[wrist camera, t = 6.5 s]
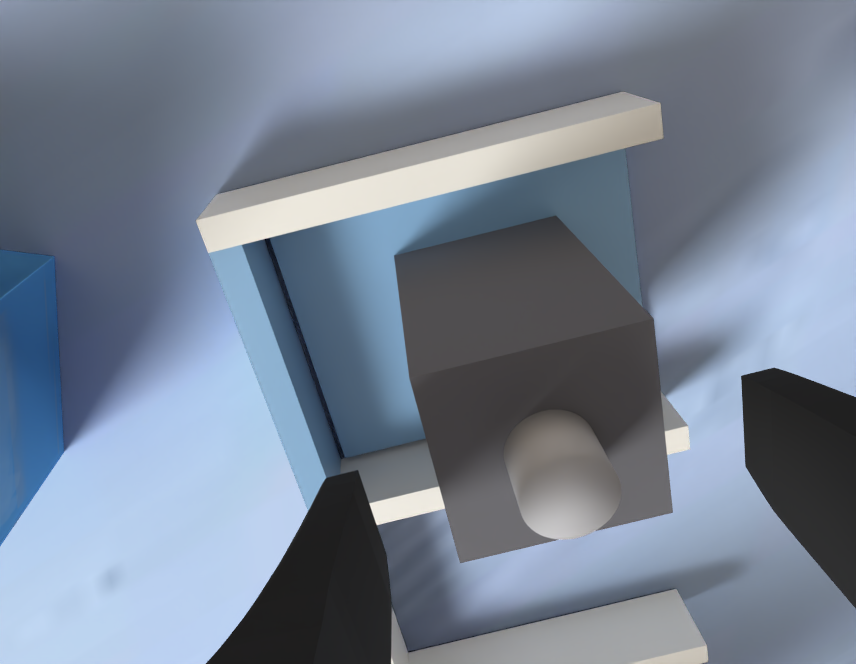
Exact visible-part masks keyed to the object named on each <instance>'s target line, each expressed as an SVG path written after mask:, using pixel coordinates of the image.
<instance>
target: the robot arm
mask: <svg viewBox="0 0 856 664" xmlns="http://www.w3.org/2000/svg"><path fill="white" fill-rule="evenodd" d="M741 380H742V401H743V422H744V443H745V464H746V468H747V469H748V471H749V473H750V474H751V476H752V478H753V479H754V481H755V482H756V484H757V486H758V487H759V489H760V491H761V492H762V494H763V495H764V497H765V498H766V500H767V501H768V503H769V504H770V506H771V507H772V509H773V510H774V512H775V513H776V514H777V516H778V517H779V518H780V519H781V521H782V522H783V523H784V524H785V525H786V527H787V528H788V529H789V530H790V531H791V533H792V534H793V535H794V536H795V537H796V539H797V540H798V541H799V542H800V543H801V545H802V546H803V547H804V548H805V549H806V550H807V552H808V553H809V554H810V555H811V556H812V557H813V559H814V560H815V561H816V562H817V563H818V565H819V566H820V567H821V568H822V569H823V570H824V572H825V573H826V574H827V575H828V576H829V577H830V579H831V580H832V581H833V582H834V583H835V585H836V586H837V587H838V588H839V589H840V590H841V592H842V593H843V594H844V595H845V596H846V597H847V599H848V600H849V601H850V602H851V603H852V605H853V606H854V607H855V608H856V397H854V396H851V395H848V394H846V393H843V392H840V391H838V390H835V389H833V388H830V387H827V386H825V385H822V384H819V383H817V382H814V381H811V380H809V379H806V378H803V377H801V376H798V375H795V374H792V373H789V372H786V371H783V370H780V369H777V368H771V369H767V370H763V371H759V372H755V373H751V374H747V375H743V376H741ZM391 635H392V602H391V592H390V582H389V574H388V565H387V556H386V552H385V549H384V546H383V543H382V540H381V537H380V534H379V531H378V528H377V525H376V522H375V519H374V516H373V513H372V510H371V507H370V504H369V501H368V498H367V495H366V492H365V489H364V486H363V483H362V480H361V477H360V474H359V471H358V470H356V471H351V472H347V473H343V474H339V475H335V476H331V477H327V478H326V479H325V480H324V482H323V483H322V485H321V487H320V489H319V491H318V493H317V495H316V497H315V499H314V501H313V503H312V505H311V507H310V509H309V511H308V513H307V515H306V516H305V518H304V520H303V522H302V524H301V526H300V528H299V530H298V532H297V533H296V535H295V537H294V539H293V540H292V542H291V544H290V546H289V548H288V549H287V551H286V553H285V555H284V556H283V558H282V560H281V562H280V563H279V565H278V567H277V568H276V570H275V571H274V573H273V574H272V576H271V578H270V579H269V581H268V582H267V584H266V585H265V587H264V589H263V590H262V592H261V593H260V595H259V596H258V598H257V599H256V601H255V602H254V604H253V605H252V607H251V608H250V610H249V611H248V612H247V614H246V615H245V617H244V618H243V619H242V621H241V622H240V623H239V625H238V626H237V627H236V628H235V630H234V631H233V632H232V634H231V635H230V636H229V637H228V639H227V640H226V641H225V642H224V644H223V645H222V646H221V647H220V648H219V650H218V651H217V652H216V653H215V654H214V655H213V656H212V657H211V659H210V660H209V661H208V662H207V663H206V664H391Z"/></svg>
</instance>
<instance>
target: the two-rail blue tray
mask: <svg viewBox="0 0 856 664" xmlns="http://www.w3.org/2000/svg"><path fill="white" fill-rule="evenodd" d="M660 139H664V138H663V127H662V115H661V103H659V102H656V101H652V100H649V99H646V98H643V97H639V96H636V95H633V94H630V93H627V92H619V93H615V94H611V95H607V96H603V97H599V98H595V99H591V100H587V101H583V102H579V103H575V104H571V105H568V106H564V107H560V108H556V109H552V110H548V111H544V112H540V113H536V114H532V115H528V116H524V117H520V118H516V119H512V120H508V121H504V122H500V123H496V124H493V125H489V126H485V127H481V128H477V129H473V130H469V131H465V132H461V133H457V134H453V135H449V136H445V137H441V138H437V139H433V140H429V141H425V142H422V143H418V144H414V145H410V146H406V147H402V148H398V149H394V150H390V151H386V152H382V153H378V154H374V155H370V156H366V157H362V158H358V159H354V160H351V161H347V162H343V163H339V164H335V165H331V166H327V167H323V168H319V169H315V170H311V171H307V172H303V173H299V174H295V175H291V176H287V177H283V178H279V179H276V180H272V181H268V182H264V183H260V184H256V185H252V186H248V187H244V188H240V189H236V190H232V191H228V192H224V193H220V194H216V196H215V197H214V198H213V199H212V201H211V202H210V203H209V204H208V206H207V207H206V208H205V209H204V211H203V212H202V213H201V214H200V216H199V217H198V218H197V219H196V223H197V225H198V228H199V230H200V233H201V236H202V238H203V241H204V243H205V246H206V248H207V251H208V254H209V256H210V259H211V261H212V264H213V267H214V269H215V272H216V274H217V277H218V279H219V282H220V285H221V287H222V290H223V292H224V295H225V298H226V300H227V303H228V305H229V308H230V310H231V313H232V316H233V318H234V321H235V323H236V326H237V329H238V331H239V334H240V336H241V339H242V341H243V344H244V347H245V349H246V352H247V354H248V357H249V360H250V362H251V365H252V367H253V370H254V372H255V375H256V378H257V380H258V383H259V385H260V388H261V391H262V393H263V396H264V398H265V401H266V403H267V406H268V409H269V411H270V414H271V416H272V419H273V422H274V424H275V427H276V429H277V432H278V434H279V437H280V440H281V442H282V445H283V447H284V450H285V453H286V455H287V458H288V460H289V463H290V465H291V468H292V471H293V473H294V476H295V478H296V481H297V484H298V486H299V489H300V491H301V494H302V496H303V499H304V502H305V504H306V507H307V509H308V511H309V509H310V507H311V505H312V503H313V501H314V499H315V497H316V495H317V493H318V491H319V489H320V487H321V485H322V483H323V482H324V480H325V479H326V478H327V477H331V476H335V475H339V474H343V473H347V472H351V471H356V470H358V471H359V474H360V477H361V480H362V483H363V486H364V489H365V492H366V495H367V498H368V501H369V504H370V507H371V510H372V513H373V516H374V519H375V522H376V525H380V524H384V523H388V522H392V521H396V520H400V519H404V518H408V517H413V516H417V515H421V514H425V513H429V512H433V511H437V510H441V509H445V506H444V502H443V499H442V495H441V491H440V488H439V484H438V481H437V477H436V473H435V470H434V466H433V462H432V459H431V455H430V452H429V448H428V444H427V441H426V439H425V438H426V437H425V433H424V430H423V426H422V422H421V419H420V415H419V412H418V408H417V404H416V401H415V397H414V393H413V390H412V386H411V383H410V379H409V372H408V364H407V356H406V348H405V340H404V332H403V324H402V316H401V308H400V300H399V292H398V284H397V276H396V268H395V260H394V255H398V254H402V253H406V252H410V251H414V250H418V249H422V248H426V247H431V246H435V245H439V244H443V243H447V242H451V241H455V240H459V239H463V238H467V237H471V236H475V235H479V234H483V233H487V232H491V231H495V230H499V229H503V228H507V227H511V226H515V225H520V224H524V223H528V222H532V221H536V220H540V219H544V218H548V217H552V216H557V217H558V218H559V219H560V220H561V221H562V222H563V223H564V224H565V225H566V226H567V227H568V229H569V230H570V231H571V232H572V233H573V234H574V235H575V236H576V237H577V238H578V239H579V240H580V241H581V242H582V243H583V244H584V246H585V247H586V248H587V249H588V250H589V251H590V252H591V253H592V254H593V255H594V256H595V257H596V258H597V259H598V260H599V261H600V262H601V264H602V265H603V266H604V267H605V268H606V269H607V270H608V271H609V272H610V273H611V274H612V275H613V276H614V277H615V278H616V279H617V280H618V282H619V283H620V284H621V285H622V286H623V287H624V288H625V289H626V290H627V291H628V292H629V293H630V294H631V295H632V296H633V297H634V299H635V300H636V301H637V302H638V303H639V304H640V305H641V306H642V298H641V288H640V279H639V270H638V261H637V252H636V243H635V233H634V224H633V215H632V206H631V197H630V188H629V179H628V169H627V160H626V151H625V148H628V147H632V146H636V145H640V144H644V143H648V142H652V141H656V140H660ZM266 238H270V241H271V244H272V247H273V250H274V253H275V256H276V259H277V262H278V264H279V267H280V270H281V273H282V276H283V279H284V282H285V285H286V288H287V291H288V293H289V296H290V299H291V302H292V305H293V308H294V311H295V314H296V317H297V320H298V323H299V325H300V328H301V331H302V334H303V337H304V340H305V343H306V346H307V349H308V352H309V355H310V357H311V360H312V363H313V366H314V369H315V372H316V375H317V378H318V381H319V384H320V386H321V389H322V392H323V395H324V398H325V401H326V404H327V407H328V410H329V413H330V416H331V418H332V421H333V424H334V427H335V430H336V433H337V436H338V439H339V442H340V445H341V448H342V450H343V453H344V456H345V458H344V459H341V458H340V455H339V452H338V449H337V446H336V444H335V441H334V438H333V435H332V432H331V429H330V426H329V423H328V421H327V418H326V415H325V412H324V409H323V406H322V403H321V400H320V398H319V395H318V392H317V389H316V386H315V383H314V380H313V377H312V375H311V372H310V369H309V366H308V363H307V360H306V357H305V354H304V352H303V349H302V346H301V343H300V340H299V337H298V334H297V331H296V329H295V326H294V323H293V320H292V317H291V314H290V311H289V308H288V305H287V303H286V300H285V297H284V294H283V291H282V288H281V285H280V282H279V280H278V277H277V274H276V271H275V268H274V265H273V262H272V259H271V257H270V254H269V251H268V248H267V245H266V242H265V239H266ZM661 399H662V409H663V419H664V429H665V439H666V449H667V455H668V454H672V453H677V452H681V451H685V450H689V449H690V442H689V431H688V425H687V424H686V423H685V421H684V420H683V419H682V417H681V416H680V415H679V414H678V412H677V411H676V410H675V409H674V407H673V406H672V405H671V403H670V402H669V401H668V400H667V398H666V397H665V396H664V394H663V393H662V392H661ZM421 439H422V440H421ZM388 447H389V448H388ZM384 448H385V449H384ZM380 449H381V450H380ZM376 450H377V451H376ZM705 662H708V653H707V645H706V643H705V641H704V639H703V637H702V635H701V634H700V632H699V630H698V628H697V626H696V624H695V622H694V621H693V619H692V617H691V615H690V613H689V611H688V610H687V608H686V606H685V604H684V602H683V600H682V598H681V597H680V595H679V593H678V591H677V589H673V590H669V591H665V592H661V593H656V594H652V595H648V596H644V597H640V598H635V599H631V600H627V601H623V602H619V603H614V604H610V605H606V606H602V607H598V608H593V609H589V610H585V611H581V612H577V613H572V614H568V615H564V616H560V617H556V618H551V619H547V620H543V621H539V622H535V623H530V624H526V625H522V626H518V627H514V628H509V629H505V630H501V631H497V632H493V633H489V634H484V635H480V636H476V637H472V638H468V639H463V640H459V641H455V642H451V643H447V644H442V645H438V646H434V647H430V648H426V649H421V650H417V651H413V652H409V653H408V651H407V648H406V645H405V642H404V639H403V636H402V634H401V631H400V628H399V625H398V622H397V619H396V616H395V613H394V610H393V608H392V635H391V664H701V663H705Z"/></svg>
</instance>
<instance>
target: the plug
mask: <svg viewBox="0 0 856 664" xmlns="http://www.w3.org/2000/svg"><path fill="white" fill-rule="evenodd" d="M394 260H395V268H396V276H397V284H398V292H399V300H400V308H401V316H402V324H403V332H404V340H405V348H406V356H407V364H408V372H409V379H410V383H411V386H412V390H413V393H414V397H415V401H416V404H417V408H418V412H419V415H420V419H421V422H422V426H423V430H424V433H425V437H426V441H427V444H428V448H429V452H430V455H431V459H432V462H433V466H434V470H435V473H436V477H437V481H438V484H439V488H440V491H441V495H442V499H443V502H444V506H445V510H446V513H447V517H448V520H449V524H450V528H451V531H452V535H453V539H454V542H455V546H456V549H457V553H458V557H459V560H460V563H463V562H467V561H471V560H475V559H480V558H484V557H488V556H492V555H496V554H501V553H505V552H509V551H513V550H517V549H522V548H526V547H530V546H534V545H538V544H543V543H547V542H551V541H555V540H559V539H560V540H566V539H574V538H579V537H582V536H585V535H588V534H590V533H592V532H594V531H597V530H601V529H606V528H610V527H614V526H618V525H622V524H627V523H631V522H635V521H639V520H643V519H648V518H652V517H656V516H660V515H664V514H669V513H673V510H672V500H671V490H670V480H669V470H668V459H667V449H666V439H665V429H664V419H663V409H662V399H661V389H660V379H659V369H658V359H657V349H656V339H655V328H654V319H653V318H652V317H651V315H650V314H649V313H648V312H647V311H646V310H645V309H644V308H643V307H642V306H641V305H640V304H639V303H638V302H637V301H636V300H635V299H634V297H633V296H632V295H631V294H630V293H629V292H628V291H627V290H626V289H625V288H624V287H623V286H622V285H621V284H620V283H619V282H618V280H617V279H616V278H615V277H614V276H613V275H612V274H611V273H610V272H609V271H608V270H607V269H606V268H605V267H604V266H603V265H602V264H601V262H600V261H599V260H598V259H597V258H596V257H595V256H594V255H593V254H592V253H591V252H590V251H589V250H588V249H587V248H586V247H585V246H584V244H583V243H582V242H581V241H580V240H579V239H578V238H577V237H576V236H575V235H574V234H573V233H572V232H571V231H570V230H569V229H568V227H567V226H566V225H565V224H564V223H563V222H562V221H561V220H560V219H559V218H558V217H557V216H552V217H548V218H544V219H540V220H536V221H532V222H528V223H524V224H520V225H515V226H511V227H507V228H503V229H499V230H495V231H491V232H487V233H483V234H479V235H475V236H471V237H467V238H463V239H459V240H455V241H451V242H447V243H443V244H439V245H435V246H431V247H426V248H422V249H418V250H414V251H410V252H406V253H402V254H398V255H394Z"/></svg>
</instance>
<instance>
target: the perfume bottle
mask: <svg viewBox="0 0 856 664" xmlns="http://www.w3.org/2000/svg"><path fill="white" fill-rule="evenodd" d="M63 453H64V439H63V419H62V399H61V379H60V359H59V339H58V319H57V299H56V279H55V259H54V256H48V255H40V254H32V253H24V252H16V251H8V250H0V546H1V544H2V543H3V541H4V540H5V538H6V537H7V535H8V534H9V532H10V531H11V529H12V528H13V527H14V525H15V524H16V522H17V521H18V519H19V518H20V516H21V515H22V513H23V512H24V510H25V509H26V507H27V506H28V504H29V503H30V501H31V500H32V499H33V497H34V496H35V494H36V493H37V491H38V490H39V488H40V487H41V485H42V484H43V482H44V481H45V479H46V478H47V476H48V475H49V473H50V472H51V471H52V469H53V468H54V466H55V465H56V463H57V462H58V460H59V459H60V457H61V456H62V454H63Z"/></svg>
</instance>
